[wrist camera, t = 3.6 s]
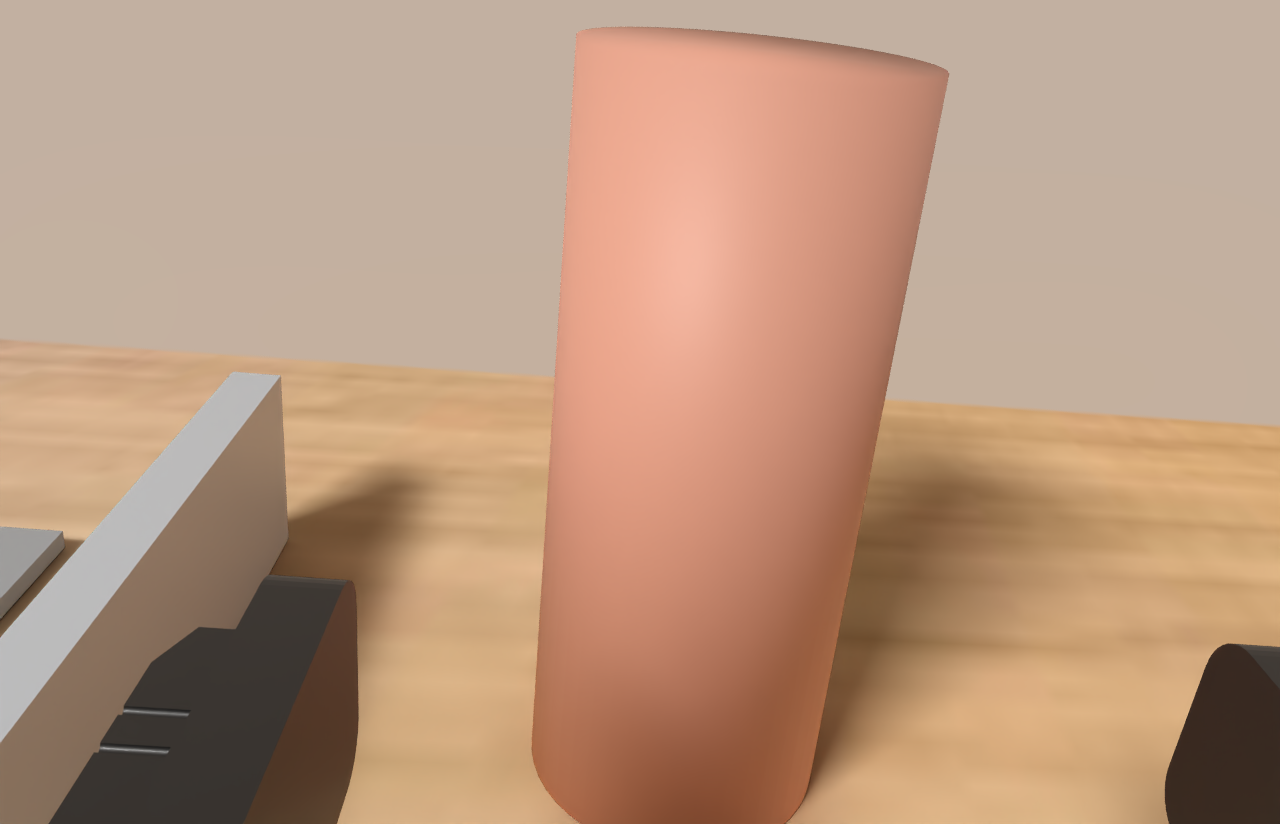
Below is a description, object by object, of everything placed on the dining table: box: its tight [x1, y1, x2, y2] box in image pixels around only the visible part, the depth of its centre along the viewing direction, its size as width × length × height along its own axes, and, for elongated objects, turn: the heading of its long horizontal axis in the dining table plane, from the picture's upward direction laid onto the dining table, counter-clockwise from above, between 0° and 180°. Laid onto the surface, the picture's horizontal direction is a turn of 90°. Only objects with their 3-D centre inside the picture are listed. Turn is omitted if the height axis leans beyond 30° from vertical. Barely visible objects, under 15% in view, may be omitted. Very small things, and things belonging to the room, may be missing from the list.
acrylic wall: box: [0, 372, 288, 824], centre depth 19 cm, size 1×12×4 cm, turn 0°
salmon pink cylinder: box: [532, 27, 949, 824], centre depth 17 cm, size 5×5×12 cm
